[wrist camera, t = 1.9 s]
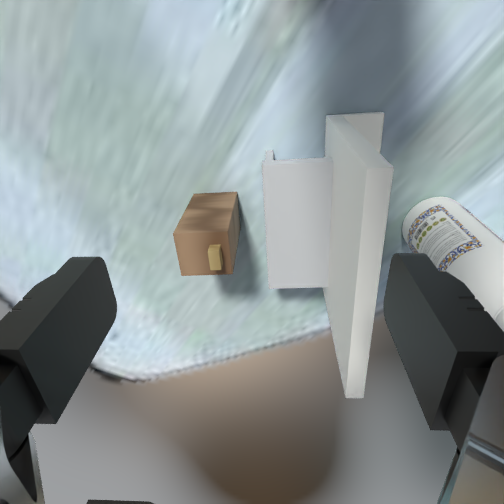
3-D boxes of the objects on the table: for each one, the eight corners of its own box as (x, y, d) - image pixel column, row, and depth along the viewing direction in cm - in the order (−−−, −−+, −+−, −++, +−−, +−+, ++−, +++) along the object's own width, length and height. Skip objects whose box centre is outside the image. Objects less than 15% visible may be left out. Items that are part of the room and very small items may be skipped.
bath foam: (393, 246, 43) (474, 381, 26) (409, 192, 40) (516, 306, 22) (451, 251, 43) (571, 389, 26) (472, 197, 40) (628, 315, 22)
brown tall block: (199, 229, 43) (178, 282, 34) (193, 193, 41) (169, 239, 31) (240, 228, 43) (231, 281, 33) (237, 191, 41) (226, 237, 31)
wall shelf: (270, 280, 46) (269, 398, 31) (261, 119, 36) (254, 174, 21) (364, 277, 46) (411, 397, 30) (381, 111, 36) (467, 163, 20)
